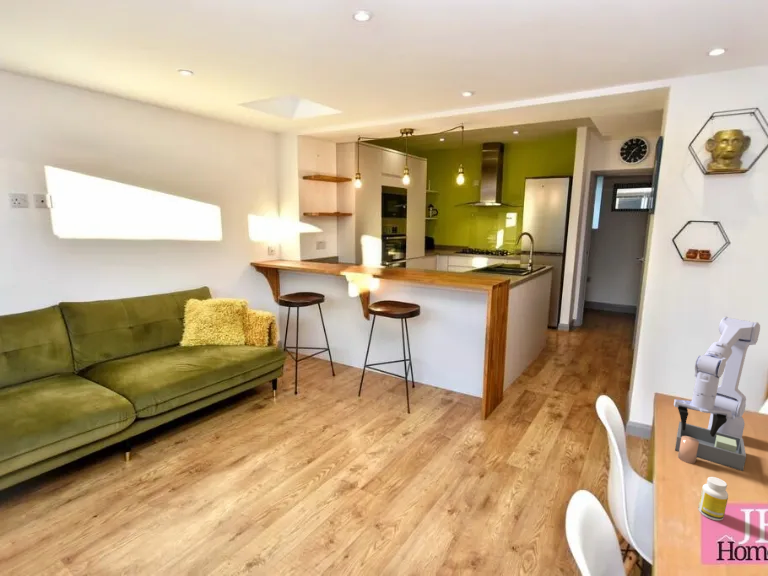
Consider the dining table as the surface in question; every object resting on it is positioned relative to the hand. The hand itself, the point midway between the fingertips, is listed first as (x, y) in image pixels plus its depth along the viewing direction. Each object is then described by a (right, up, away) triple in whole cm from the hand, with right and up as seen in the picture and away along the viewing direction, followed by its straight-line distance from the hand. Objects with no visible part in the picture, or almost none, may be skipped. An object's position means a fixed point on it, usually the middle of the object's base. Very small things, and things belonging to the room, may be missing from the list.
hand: (697, 432), depth 133 cm
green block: (+12, -9, +4) cm, 15 cm away
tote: (+8, -9, +6) cm, 14 cm away
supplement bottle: (-14, -14, -23) cm, 31 cm away
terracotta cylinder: (-2, -9, +2) cm, 10 cm away
